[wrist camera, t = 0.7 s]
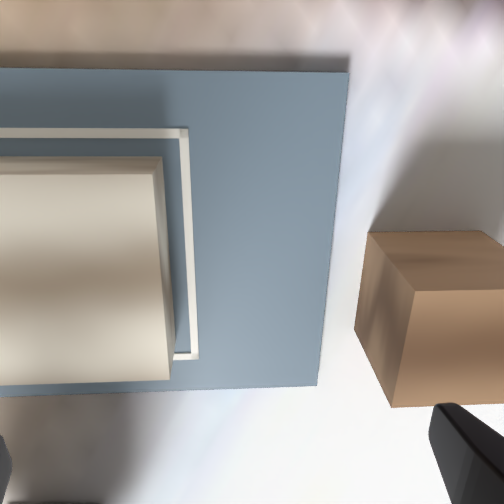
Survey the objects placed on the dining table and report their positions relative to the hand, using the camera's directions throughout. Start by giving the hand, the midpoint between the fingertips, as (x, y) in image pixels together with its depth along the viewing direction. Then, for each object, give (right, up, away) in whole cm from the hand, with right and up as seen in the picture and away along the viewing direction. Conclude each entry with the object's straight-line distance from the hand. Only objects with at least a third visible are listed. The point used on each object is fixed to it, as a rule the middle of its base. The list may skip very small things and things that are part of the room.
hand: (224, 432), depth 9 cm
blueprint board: (-6, +4, +12) cm, 15 cm away
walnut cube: (+9, +2, +14) cm, 17 cm away
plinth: (-8, +3, +12) cm, 15 cm away
